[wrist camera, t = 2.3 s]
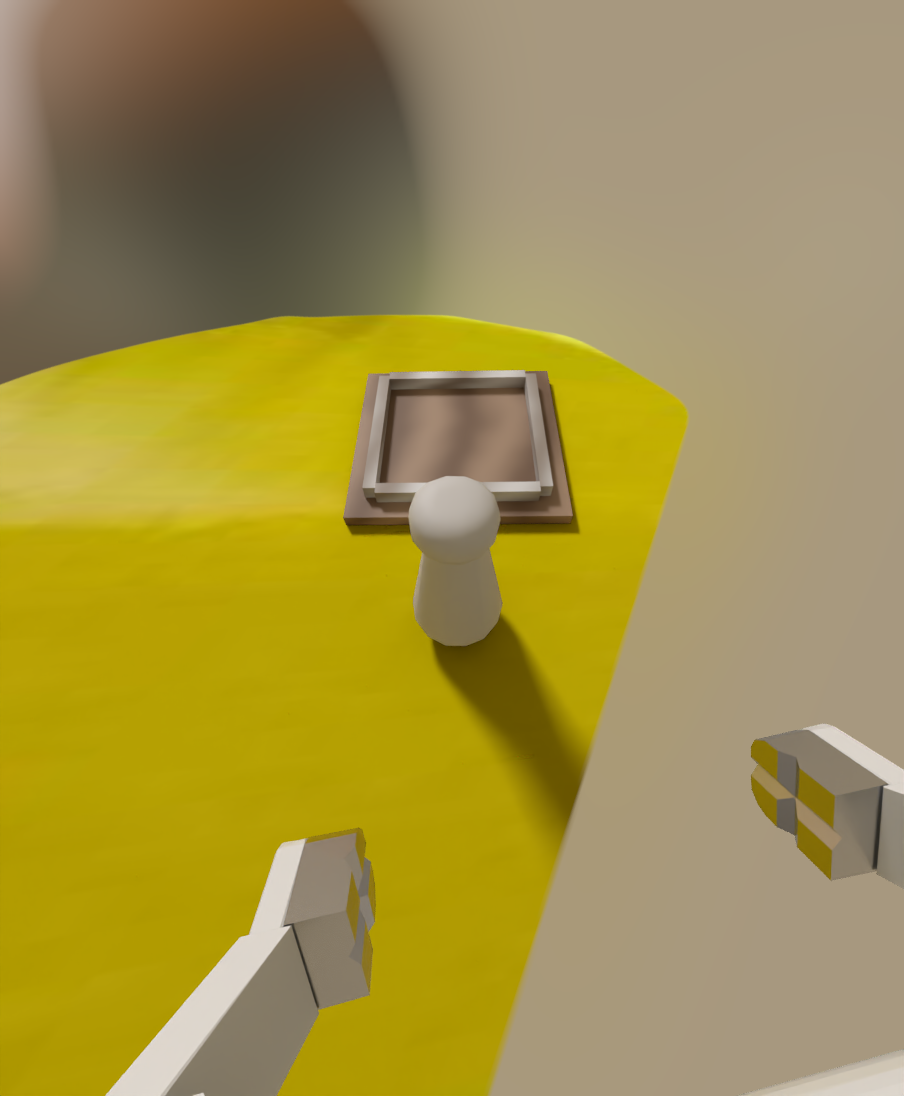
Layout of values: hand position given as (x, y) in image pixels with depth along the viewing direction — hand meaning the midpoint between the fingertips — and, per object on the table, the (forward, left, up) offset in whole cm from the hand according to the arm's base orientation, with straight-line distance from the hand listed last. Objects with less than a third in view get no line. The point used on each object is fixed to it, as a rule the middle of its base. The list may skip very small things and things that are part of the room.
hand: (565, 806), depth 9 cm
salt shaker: (-2, +12, -18) cm, 22 cm away
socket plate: (-2, +29, -18) cm, 34 cm away
